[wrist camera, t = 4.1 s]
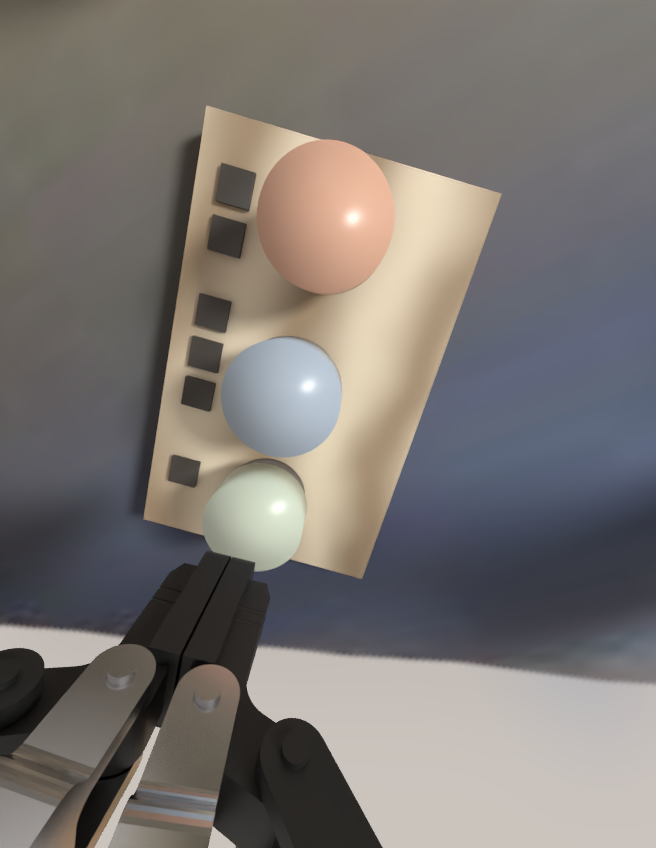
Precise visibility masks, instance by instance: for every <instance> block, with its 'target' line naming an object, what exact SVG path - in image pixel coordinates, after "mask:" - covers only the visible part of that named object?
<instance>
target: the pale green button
mask: <svg viewBox="0 0 656 848" xmlns="http://www.w3.org/2000/svg"><path fill="white" fill-rule="evenodd" d="M306 514H307V500H306V496H305V493H304V490H303V488H302V487H301V485H300V484H299V482H298V481H297V480H296V479H295V478H294V477H293V476H292V475H291V474H290V473H289V472H287V471H285V470H284V469H282V468H280V467H277V466H275V465H271V464H267V463H252V464H247V465H244V466H241V467H239V468H237V469H235V470H234V471H232V472H231V473H230V474H229V475H228V476H227V477H226V478H225V479H224V481H223V482H222V484H221V485H220V486H219V488H218V489H217V490H216V492H215V493H214V494H213V496H212V497H211V498H210V500H209V501H208V503H207V504H206V507H205V509H204V512H203V516H202V529H203V534H204V537H205V539H206V542H207V544H208V545H209V547H210V548H211V550H212V551H213V552H216V553H220V554H224V555H228V556H231V558H232V557H236V558H240V559H244V560H248V561H252V562H255V568H254V571H266V570H270V569H274V568H276V567H279V566H280V565H282V564H284V563H285V562H287V561H288V560H289V559H290V558H291V557H292V556H293V555H294V553H295V552H296V550H297V549H298V547H299V544H300V541H301V536H302V532H303V527H304V523H305V518H306Z"/></svg>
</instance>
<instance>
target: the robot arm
mask: <svg viewBox="0 0 656 848" xmlns="http://www.w3.org/2000/svg"><path fill="white" fill-rule="evenodd" d="M254 568H255V562H252V561H248V560H244V559H240V558H236V557H232V558H231V556H228V555H224V554H220V553H216V552H212V551H207V552H206V553H205V555H204V556H203V558H202V559H201V561H200V563H199V564H198V566H194V565H190V564H186V563H184V564H182V565H181V566H179V567H178V568H176V569H175V570H173V571H172V572H170V573H169V575H168V576H167V577H166V579H165V580H164V582H163V583H162V585H161V586H160V589H158V590H157V592H156V593H155V595H154V596H153V598H152V600H150V602H149V603H148V605H147V606H146V607H145V609H144V610H143V612H142V613H141V615H140V616H139V617H138V619H137V620H136V622H135V623H134V624H133V626H132V627H131V629H130V630H129V632H128V633H127V634H126V636H125V637H124V639H123V640H122V642H121V643H120V644H119V645H118V646H115V647H112V648H110V649H108V650H106V651H104V652H102V653H101V654H100V655H99V656H97V657H96V658H95V659H94V660H93V661H92V662H91V663H90V664H86V665H82V666H75V667H60V668H44V661H43V659H42V657H41V656H40V655H39V654H38V653H37V652H35V651H33V650H30V649H24V648H14V649H7V650H3V651H0V848H94V847H95V845H96V843H97V841H98V840H99V838H100V836H101V834H102V832H103V830H104V828H105V827H106V825H107V823H108V821H109V819H110V818H111V816H112V814H113V812H114V810H115V809H116V807H117V805H118V803H119V801H120V799H121V797H122V796H123V794H124V792H125V790H126V788H127V787H128V785H129V783H130V781H131V779H132V777H133V776H134V774H135V772H136V770H137V768H138V766H139V764H140V762H141V759H142V755H143V751H144V749H145V747H146V745H147V743H148V741H149V739H150V737H151V735H152V733H153V730H154V728H155V726H156V727H160V728H161V729H160V731H159V734H158V736H157V739H156V741H155V744H154V747H153V750H152V752H151V754H150V757H149V760H148V762H147V765H146V767H145V770H144V772H143V775H142V778H141V780H140V783H139V785H138V788H137V790H136V792H135V793H134V795H131V797H130V798H129V800H128V802H127V804H126V806H125V808H124V810H123V812H122V815H121V817H120V820H119V822H118V825H117V827H116V830H115V832H114V835H113V837H112V840H111V842H110V845H109V847H108V848H208V845H209V839H210V836H211V831H212V826H213V827H215V828H216V829H217V830H218V831H219V832H221V833H222V834H223V835H224V836H225V837H227V838H228V839H229V840H230V841H231V842H233V843H234V844H235V845H236V848H382V846H381V844H380V842H379V841H378V839H377V837H376V835H375V833H374V831H373V830H372V828H371V826H370V824H369V822H368V820H367V819H366V817H365V815H364V813H363V811H362V809H361V807H360V806H359V804H358V802H357V800H356V798H355V797H354V795H353V793H352V791H351V789H350V787H349V786H348V784H347V782H346V780H345V778H344V776H343V774H342V773H341V771H340V769H339V767H338V765H337V763H336V762H335V760H334V758H333V756H332V755H331V752H330V751H329V749H328V747H327V745H326V743H325V742H324V740H323V738H322V736H321V735H320V733H319V732H318V731H317V730H316V729H315V728H314V727H313V726H312V725H311V724H309V723H307V722H306V721H303V720H301V719H296V718H287V719H283V720H281V721H278V722H277V723H275V722H274V721H272V720H271V719H269V718H268V717H266V716H265V715H263V714H262V713H261V712H260V711H258V709H256V707H255V706H254V705H253V703H252V702H251V700H250V698H249V696H248V692H247V686H246V685H247V681H248V677H249V674H250V670H251V667H252V663H253V660H254V657H255V653H256V650H257V646H258V643H259V639H260V636H261V632H262V628H263V624H264V620H265V616H266V612H267V608H268V604H269V600H270V596H269V592H268V587H267V584H265V583H261V582H257V581H253V580H252V577H253V573H254Z"/></svg>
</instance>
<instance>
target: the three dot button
mask: <svg viewBox="0 0 656 848" xmlns="http://www.w3.org/2000/svg"><path fill="white" fill-rule="evenodd" d="M341 397H342V383H341V377H340V374H339V371H338V369H337V367H336V364H335V363H334V361H333V360H332V358H331V357H330V356H329V354H328V353H327V352H326V351H325V350H324V349H322V348H321V347H320V346H318V345H317V344H316V343H314V342H312V341H310V340H307V339H305V338H302V337H297V336H278V337H273V338H270V339H268V340H265V341H262V342H259V343H257V344H254V345H252V346H250V347H248V348H247V349H245V350H244V351H242V352H241V353H240V354H239V355H238V356H237V357H236V358H235V359H234V360H233V361H232V363H231V364H230V366H229V367H228V369H227V371H226V373H225V376H224V378H223V382H222V387H221V404H222V410H223V413H224V416H225V419H226V421H227V423H228V425H229V427H230V428H231V430H232V431H233V432H234V434H235V435H236V436H237V437H238V438H239V439H240V440H241V441H242V442H243V443H244V444H245V445H247V446H248V447H250V448H251V449H253V450H255V451H257V452H259V453H262V454H265V455H268V456H273V457H281V458H283V457H294V456H299V455H302V454H305V453H307V452H310V451H312V450H313V449H315V448H316V447H318V446H319V445H320V444H322V443H323V442H324V441H325V440H326V439H327V438H328V436H329V435H330V433H331V432H332V431H333V429H334V427H335V425H336V422H337V420H338V417H339V412H340V405H341Z"/></svg>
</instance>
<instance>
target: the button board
mask: <svg viewBox="0 0 656 848" xmlns="http://www.w3.org/2000/svg"><path fill="white" fill-rule="evenodd" d="M316 140H320V139H317V138H314V137H310V136H307V135H304V134H300V133H297V132H294V131H290V130H287V129H284V128H280V127H277V126H274V125H270V124H267V123H264V122H260V121H257V120H254V119H250V118H247V117H244V116H240V115H237V114H234V113H230V112H227V111H224V110H220V109H217V108H214V107H210V106H207V105H206V112H205V118H204V125H203V132H202V138H201V145H200V151H199V158H198V164H197V171H196V177H195V184H194V191H193V197H192V204H191V210H190V217H189V223H188V230H187V236H186V243H185V250H184V256H183V263H182V269H181V276H180V282H179V289H178V295H177V302H176V309H175V315H174V322H173V328H172V335H171V341H170V348H169V354H168V361H167V368H166V374H165V381H164V387H163V394H162V400H161V407H160V413H159V420H158V427H157V433H156V440H155V446H154V453H153V459H152V466H151V472H150V479H149V486H148V492H147V499H146V505H145V512H144V518H143V519H145V520H149V521H153V522H156V523H160V524H163V525H167V526H171V527H174V528H178V529H182V530H185V531H189V532H193V533H196V534H200V535H204V534H203V529H202V516H203V512H204V509H205V507H206V504H207V503H208V501H209V500H210V498H211V497H212V496H213V494H214V493H215V492H216V490H217V489H218V488H219V486H220V485H221V484H222V482H223V481H224V479H225V478H226V477H227V476H228V475H229V474H230V473H231V472H232V471H234V470H235V469H237V468H239V467H241V466H244V465H247V464H252V463H267V464H271V465H275V466H277V467H280V468H282V469H284V470H285V471H287V472H289V473H290V474H291V475H292V476H293V477H294V478H295V479H296V480H297V481H298V482H299V484H300V485H301V487H302V488H303V490H304V493H305V496H306V500H307V514H306V518H305V523H304V527H303V532H302V536H301V541H300V544H299V547H298V549H297V550H296V552H295V553H294V555H293V556H292V557H291V558H290V559H291V560H295V561H298V562H302V563H306V564H309V565H313V566H317V567H320V568H324V569H327V570H331V571H335V572H338V573H342V574H346V575H349V576H353V577H357V578H360V579H362V577H363V575H364V572H365V569H366V566H367V564H368V561H369V558H370V555H371V553H372V550H373V547H374V544H375V542H376V539H377V536H378V533H379V531H380V528H381V525H382V522H383V520H384V517H385V514H386V511H387V509H388V506H389V503H390V500H391V498H392V495H393V492H394V489H395V486H396V484H397V481H398V478H399V475H400V473H401V470H402V467H403V464H404V462H405V459H406V456H407V453H408V451H409V448H410V445H411V442H412V440H413V437H414V434H415V431H416V429H417V426H418V423H419V420H420V418H421V415H422V412H423V409H424V407H425V404H426V401H427V398H428V396H429V393H430V390H431V387H432V385H433V382H434V379H435V376H436V374H437V371H438V368H439V365H440V363H441V360H442V357H443V354H444V352H445V349H446V346H447V343H448V341H449V338H450V335H451V332H452V329H453V327H454V324H455V321H456V318H457V316H458V313H459V310H460V307H461V305H462V302H463V299H464V296H465V294H466V291H467V288H468V285H469V283H470V280H471V277H472V274H473V272H474V269H475V266H476V263H477V261H478V258H479V255H480V252H481V250H482V247H483V244H484V241H485V239H486V236H487V233H488V230H489V228H490V225H491V222H492V219H493V217H494V214H495V211H496V208H497V206H498V203H499V200H500V197H501V195H502V194H501V193H497V192H494V191H491V190H487V189H484V188H481V187H477V186H474V185H471V184H467V183H464V182H461V181H457V180H454V179H451V178H447V177H444V176H441V175H437V174H434V173H431V172H427V171H424V170H421V169H417V168H414V167H410V166H407V165H404V164H400V163H397V162H394V161H390V160H387V159H384V158H380V157H377V156H374V155H370V154H367V153H366V154H367V155H368V156H369V157H370V158H371V159H372V160H373V161H374V162H375V163H376V164H377V165H378V167H379V168H380V169H381V171H382V172H383V174H384V176H385V178H386V180H387V182H388V184H389V187H390V190H391V193H392V197H393V203H394V219H395V220H394V229H393V234H392V238H391V241H390V244H389V247H388V249H387V251H386V253H385V255H384V257H383V259H382V261H381V262H380V264H379V265H378V267H377V268H376V270H375V271H374V273H373V274H372V275H371V276H370V277H369V278H368V279H367V280H366V281H365V282H364V283H362V284H361V285H359V286H358V287H356V288H354V289H352V290H350V291H348V292H345V293H341V294H336V295H321V294H316V293H312V292H310V291H307V290H304V289H302V288H299V287H298V286H296V285H294V284H292V283H290V282H289V281H288V280H286V279H285V278H284V277H283V276H282V275H280V274H279V273H278V272H277V270H276V269H275V268H274V267H273V266H272V264H271V263H270V261H269V260H268V258H267V256H266V254H265V252H264V250H263V248H262V245H261V242H260V239H259V234H258V228H257V206H258V200H259V196H260V192H261V189H262V186H263V184H264V181H265V180H266V178H267V176H268V174H269V172H270V171H271V170H272V168H273V167H274V165H275V164H276V163H277V162H278V161H279V160H280V159H281V158H282V157H283V156H284V155H286V154H287V153H288V152H289V151H291V150H293V149H294V148H296V147H298V146H300V145H302V144H305V143H308V142H312V141H316ZM278 336H297V337H302V338H305V339H307V340H310V341H312V342H314V343H316V344H317V345H318V346H320V347H321V348H322V349H324V350H325V351H326V352H327V353H328V354H329V356H330V357H331V358H332V360H333V361H334V363H335V364H336V367H337V369H338V371H339V374H340V377H341V383H342V397H341V405H340V412H339V417H338V420H337V422H336V425H335V427H334V429H333V431H332V432H331V433H330V435H329V436H328V438H327V439H326V440H325V441H324V442H323V443H322V444H320V445H319V446H318V447H316V448H315V449H313V450H312V451H310V452H307V453H305V454H302V455H299V456H294V457H283V458H281V457H273V456H268V455H265V454H262V453H259V452H257V451H255V450H253V449H251V448H250V447H248V446H247V445H245V444H244V443H243V442H242V441H241V440H240V439H239V438H238V437H237V436H236V435H235V434H234V432H233V431H232V430H231V428H230V427H229V425H228V423H227V421H226V419H225V416H224V413H223V410H222V404H221V387H222V382H223V378H224V376H225V373H226V371H227V369H228V367H229V366H230V364H231V363H232V361H233V360H234V359H235V358H236V357H237V356H238V355H239V354H240V353H241V352H242V351H244V350H245V349H247V348H248V347H250V346H252V345H254V344H257V343H259V342H262V341H265V340H268V339H270V338H273V337H278Z"/></svg>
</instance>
